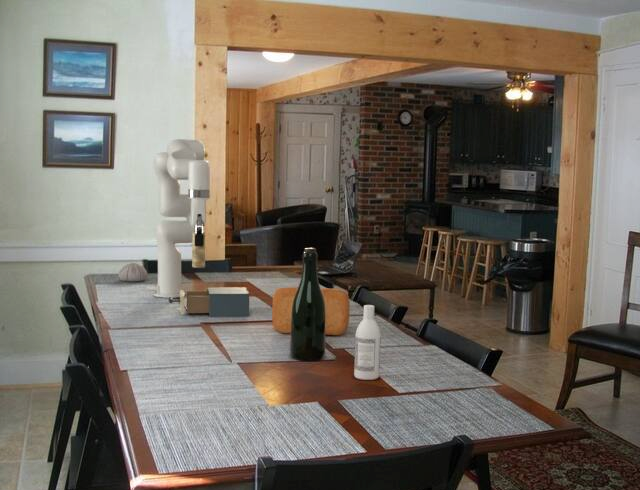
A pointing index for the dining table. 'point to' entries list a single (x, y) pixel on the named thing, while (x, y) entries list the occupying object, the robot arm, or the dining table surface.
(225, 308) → the cabinet
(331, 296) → the bread
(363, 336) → the bath foam
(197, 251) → the cylinder
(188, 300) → the drawer
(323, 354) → the green wine bottle
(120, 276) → the sea urchin shell
